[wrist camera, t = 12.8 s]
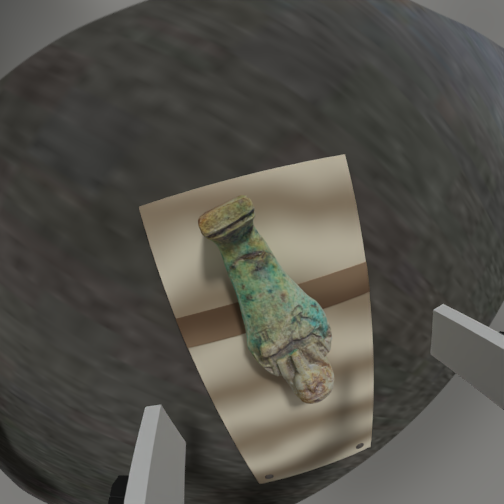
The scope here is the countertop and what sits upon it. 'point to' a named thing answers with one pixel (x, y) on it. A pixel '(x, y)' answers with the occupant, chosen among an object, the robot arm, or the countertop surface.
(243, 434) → the board
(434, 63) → the countertop surface
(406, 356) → the countertop surface
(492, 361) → the robot arm
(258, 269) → the figurine
